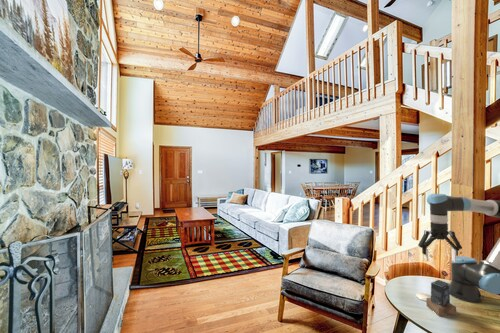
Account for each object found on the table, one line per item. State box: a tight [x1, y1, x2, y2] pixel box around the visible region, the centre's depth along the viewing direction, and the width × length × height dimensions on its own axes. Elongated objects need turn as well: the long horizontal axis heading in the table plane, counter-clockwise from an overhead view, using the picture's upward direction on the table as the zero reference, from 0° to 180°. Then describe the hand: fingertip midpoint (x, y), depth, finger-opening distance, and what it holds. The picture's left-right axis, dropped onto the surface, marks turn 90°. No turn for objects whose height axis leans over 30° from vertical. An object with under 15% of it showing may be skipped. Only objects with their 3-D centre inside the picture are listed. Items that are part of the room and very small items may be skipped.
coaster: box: [415, 292, 431, 303], centre depth 144 cm, size 9×9×1 cm
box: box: [430, 279, 451, 306], centre depth 131 cm, size 8×6×11 cm
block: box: [426, 298, 457, 317], centre depth 131 cm, size 9×9×5 cm
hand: (440, 260), depth 132 cm, fingers open, 13 cm apart
